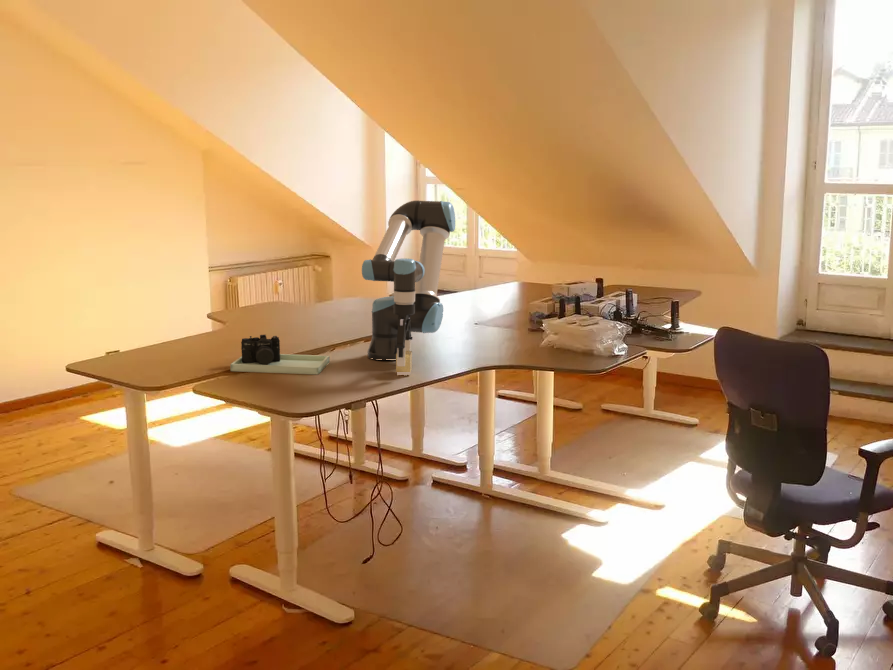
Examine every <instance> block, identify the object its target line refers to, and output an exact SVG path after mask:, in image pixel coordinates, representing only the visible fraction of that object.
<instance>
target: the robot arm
mask: <svg viewBox="0 0 893 670" xmlns="http://www.w3.org/2000/svg"><path fill="white" fill-rule="evenodd" d="M387 222H388V224H387V225H388V228H387V229H386V231H385V233H384V236H383V237H382V240H381V241H380V243H379V246H378V248H377V249H376V252H375V254H374V256H373V257H372V259H365V260H364V261H363V262H362V264H361V274H362V278H363V279H364V281H365V280H366V281H373V282H390V283H391V282H393V293H391V296H390V295H389V296H385V297H384V296H383V297H379V298H377V299H374V300H373V302H372V307H371V308H372V309H371V316H372V317H371V330H372V331H371V332H372V333H371V340H370V343H369V347H368V349H367V358H368V357H370V358H373V359H382V360H386V359H396V353H397V366H405V351H411V341H412V340H413V336H412V333H423V334H427V333H428V334H429V333H430V334H434V333H436V332H437V331H438V330H439V329H440V327H441V324H442V321H443V317H444V306H443V303H441V299H440V297H438V289H439V283H440V276H441V275H440V274H441V269H442V260H443V255H444V249H445V241H446V240H447V239H448V238H449V237H450V233H452V232H455V230H456V213H455V209H454V206H453V203H451V202H450V201H444V200H443V201H442V200H437V201H436V200H434V201H433V200H411V201H407V202H405V203H403V204H402V205H401V206H399V207H398V208H396V209H395V211H394V212H392V213H391V216H390V217H389V219H388V221H387ZM412 231H419V234H420V235H421V237H422V242H421V247H420V255H419V259H418V260H419V261H417V260H415V259H413V258H405V257H404V258H397V255H398V254H399V252H400V249H401V247H402V245H403V244H404V241H405V239H406V237H407V236H408V235H410V233H411V232H412ZM370 358H369V359H370ZM373 359H372V360H373Z"/></svg>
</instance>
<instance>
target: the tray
mask: <svg viewBox="0 0 893 670" xmlns="http://www.w3.org/2000/svg"><path fill="white" fill-rule="evenodd" d="M330 360H331V359H330V355H321V354H320V355H315V354H313V355H312V354H294V353H293V354H289V353H285V354H284V353H280V361H275V362H271V363H270V364H268V365H261V364H259V363H256V362H253V363H243V362H242V355H241V356H240V357H238V358H237V359H236V360H234V361H233V362H231V363H230V372H244V373H245V372H246V373H247V372H248V373H271V374H274V373H275V374H295V375H296V374H297V375H319V374H320V373H321V372H323V370H324V369H325V368H326V367H327V366H328V365H329V364H330V362H331V361H330ZM328 363H329V364H328ZM327 364H328V365H327ZM326 365H327V366H326Z"/></svg>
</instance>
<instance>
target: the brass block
mask: <svg viewBox="0 0 893 670" xmlns="http://www.w3.org/2000/svg"><path fill="white" fill-rule="evenodd" d="M395 368H396V369H395V373H396V372H411V370H412V371H413V351H412V350H410V351H405V366H397V353H396V361H395Z"/></svg>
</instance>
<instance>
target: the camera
mask: <svg viewBox="0 0 893 670" xmlns="http://www.w3.org/2000/svg"><path fill="white" fill-rule="evenodd" d="M279 338H280V337H279V336H277V335H273V336H272V337H271V338H267V334H259V336H257V337H252V336H249V338H246V337H245V338H241V341H240V343H241V344H240V345H241V346H240V347H241V348H240V349H241V356H242V362H243V363H253V362H256V363H259V364H261V365H268V364H270V363H271V362H275V361H280V354H281V345H280V344H281V343H280V342H281V341H280V339H279Z"/></svg>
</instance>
